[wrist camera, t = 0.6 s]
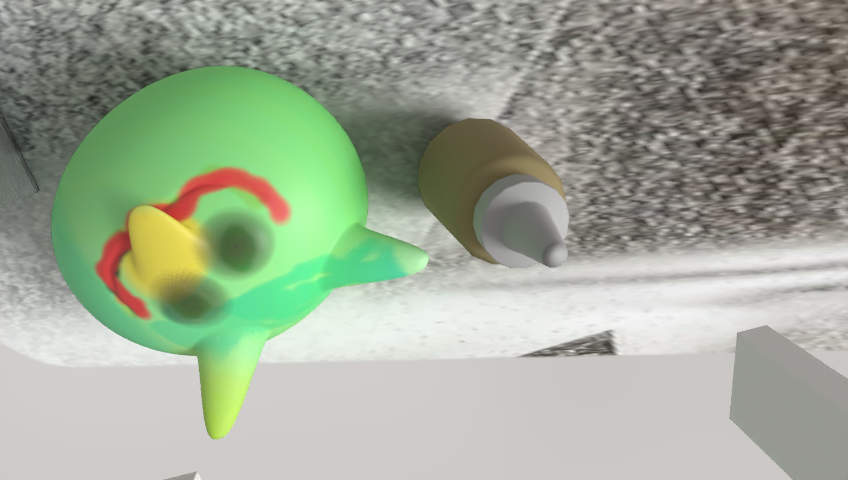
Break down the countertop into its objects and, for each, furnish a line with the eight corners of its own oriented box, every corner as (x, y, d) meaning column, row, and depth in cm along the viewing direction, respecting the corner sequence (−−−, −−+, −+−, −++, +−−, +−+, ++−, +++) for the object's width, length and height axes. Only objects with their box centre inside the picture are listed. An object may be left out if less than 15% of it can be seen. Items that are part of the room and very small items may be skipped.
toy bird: (252, 11, 31) (175, -25, 17) (416, 196, 37) (454, 276, 23) (70, 189, 33) (-124, 279, 20) (253, 335, 39) (201, 481, 26)
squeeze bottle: (442, 232, 38) (512, 366, 22) (391, 148, 35) (426, 228, 19) (529, 181, 38) (667, 278, 21) (484, 90, 35) (605, 121, 18)
